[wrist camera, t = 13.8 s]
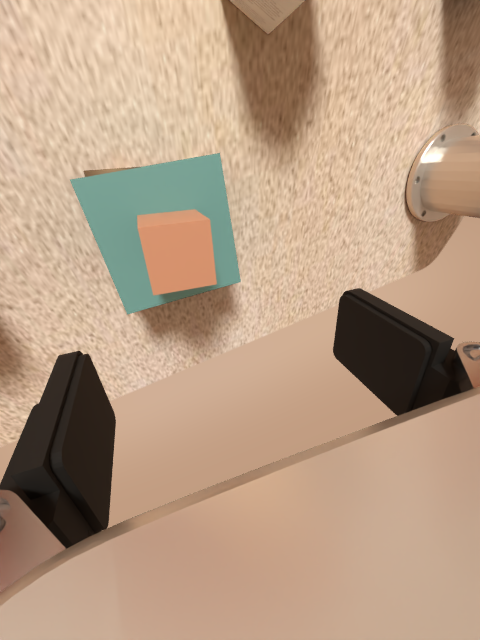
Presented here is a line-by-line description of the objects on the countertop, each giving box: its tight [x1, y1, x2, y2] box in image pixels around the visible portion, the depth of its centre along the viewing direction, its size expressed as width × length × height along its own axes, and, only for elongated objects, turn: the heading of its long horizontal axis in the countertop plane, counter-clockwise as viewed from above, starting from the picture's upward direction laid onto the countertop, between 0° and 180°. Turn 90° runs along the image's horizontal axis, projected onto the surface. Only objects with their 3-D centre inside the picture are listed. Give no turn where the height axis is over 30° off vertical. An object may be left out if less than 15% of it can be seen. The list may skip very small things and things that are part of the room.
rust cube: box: [137, 209, 217, 296], centre depth 23 cm, size 5×5×6 cm
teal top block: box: [70, 153, 241, 314], centre depth 27 cm, size 12×12×4 cm
